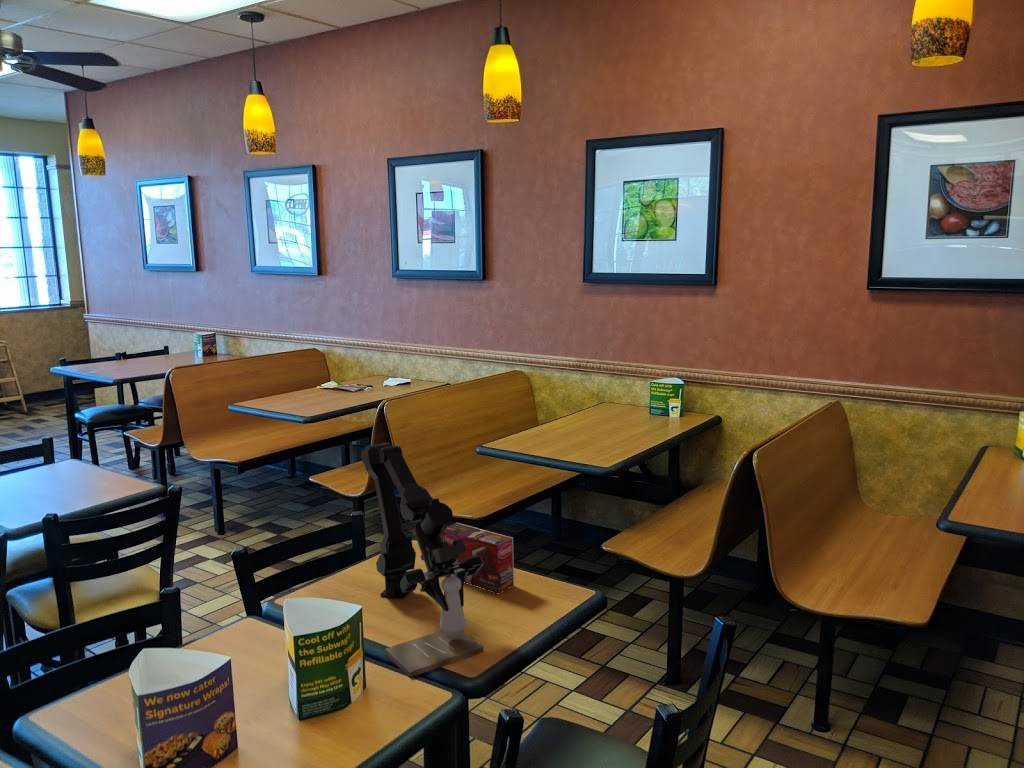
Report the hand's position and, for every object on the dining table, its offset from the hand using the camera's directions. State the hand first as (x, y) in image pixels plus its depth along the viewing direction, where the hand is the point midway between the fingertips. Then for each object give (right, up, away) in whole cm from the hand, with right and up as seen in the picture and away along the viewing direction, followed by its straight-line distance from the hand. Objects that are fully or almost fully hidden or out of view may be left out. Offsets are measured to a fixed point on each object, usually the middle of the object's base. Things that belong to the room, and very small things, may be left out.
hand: (454, 608), depth 172 cm
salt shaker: (-1, -7, +2) cm, 7 cm away
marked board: (-5, -10, 0) cm, 11 cm away
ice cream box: (+3, -3, +37) cm, 37 cm away
